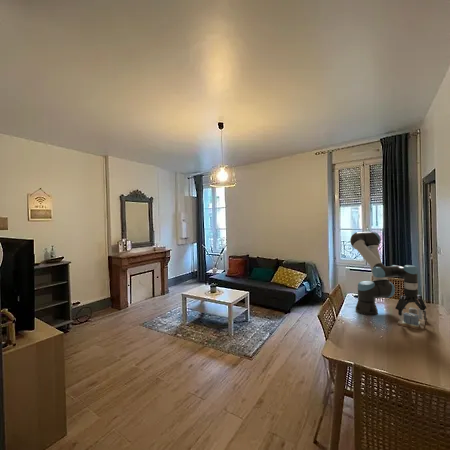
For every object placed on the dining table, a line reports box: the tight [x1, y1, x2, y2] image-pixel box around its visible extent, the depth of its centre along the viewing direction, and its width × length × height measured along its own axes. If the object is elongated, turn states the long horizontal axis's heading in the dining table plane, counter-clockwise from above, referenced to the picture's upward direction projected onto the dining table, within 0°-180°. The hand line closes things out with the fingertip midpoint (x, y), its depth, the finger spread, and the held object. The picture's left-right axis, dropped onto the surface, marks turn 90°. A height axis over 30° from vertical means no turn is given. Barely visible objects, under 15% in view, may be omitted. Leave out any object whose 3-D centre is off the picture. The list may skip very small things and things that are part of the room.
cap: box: [404, 311, 419, 326], centre depth 170 cm, size 11×8×6 cm
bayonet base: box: [397, 306, 427, 331], centre depth 176 cm, size 14×26×7 cm, turn 138°
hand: (411, 319), depth 170 cm, fingers open, 13 cm apart
